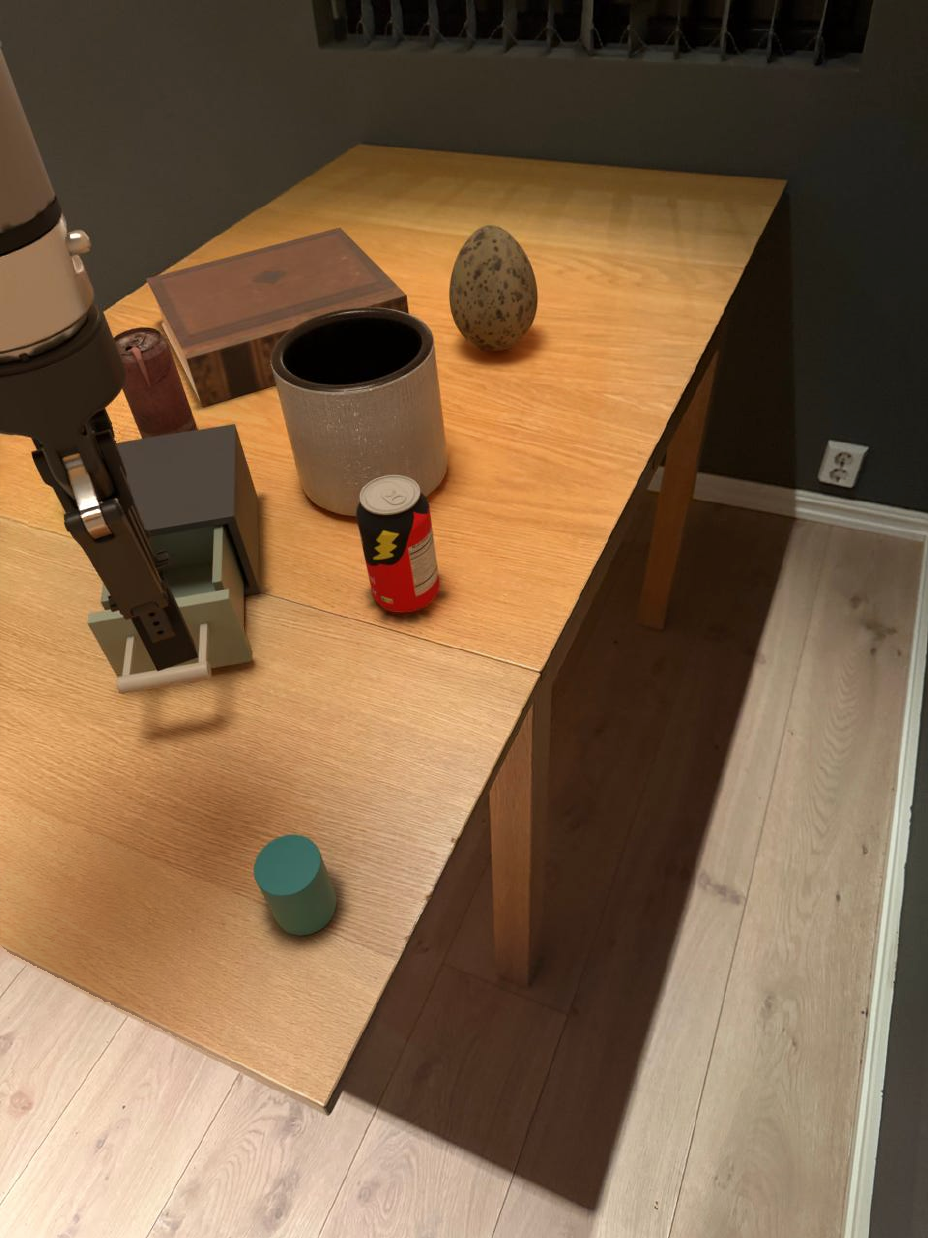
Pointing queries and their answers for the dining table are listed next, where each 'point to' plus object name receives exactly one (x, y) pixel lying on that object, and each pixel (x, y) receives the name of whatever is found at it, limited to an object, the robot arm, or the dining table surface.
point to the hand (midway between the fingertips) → (176, 656)
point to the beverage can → (398, 543)
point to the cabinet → (197, 488)
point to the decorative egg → (493, 290)
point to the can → (153, 384)
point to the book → (262, 306)
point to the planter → (360, 403)
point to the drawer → (184, 612)
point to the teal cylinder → (295, 884)
